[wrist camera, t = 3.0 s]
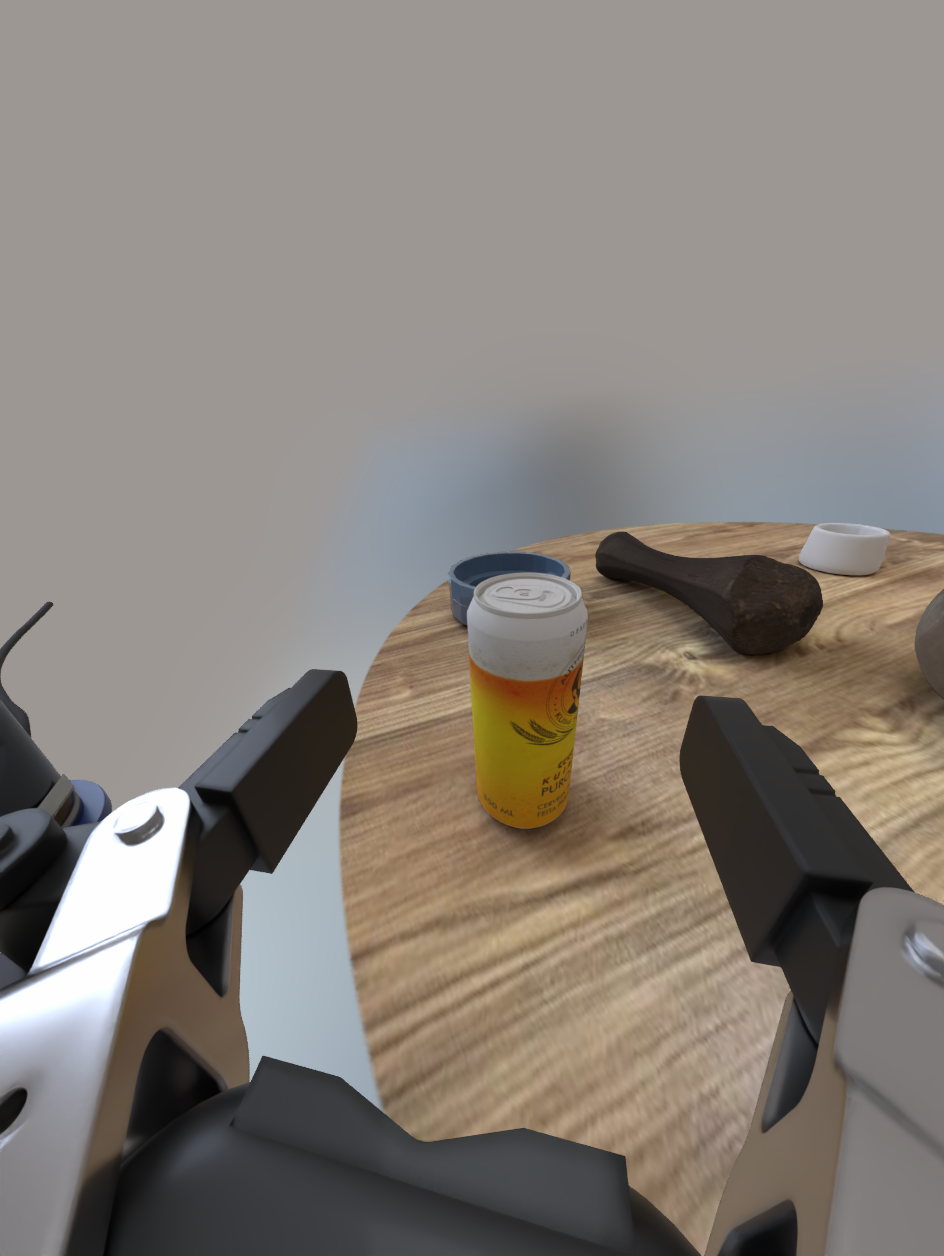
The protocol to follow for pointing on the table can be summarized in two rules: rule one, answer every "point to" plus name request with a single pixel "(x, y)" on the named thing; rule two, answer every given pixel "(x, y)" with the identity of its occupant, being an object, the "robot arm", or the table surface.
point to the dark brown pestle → (724, 591)
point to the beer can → (525, 693)
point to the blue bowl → (495, 574)
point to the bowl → (932, 644)
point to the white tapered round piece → (845, 548)
